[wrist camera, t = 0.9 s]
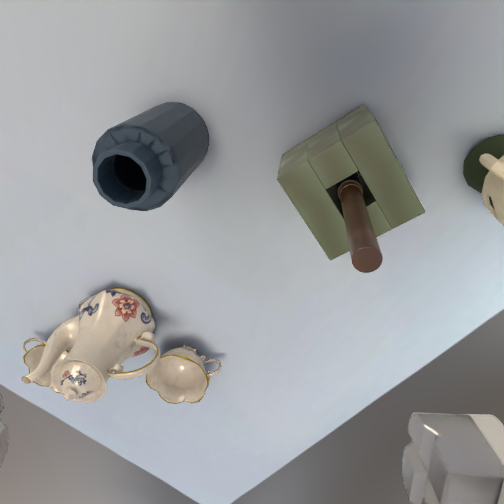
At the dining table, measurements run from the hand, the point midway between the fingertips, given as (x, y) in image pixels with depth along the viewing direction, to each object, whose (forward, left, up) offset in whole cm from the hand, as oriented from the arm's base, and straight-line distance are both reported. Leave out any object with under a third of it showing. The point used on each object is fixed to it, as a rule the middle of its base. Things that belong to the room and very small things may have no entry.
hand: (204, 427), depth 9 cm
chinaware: (+31, +22, -43) cm, 57 cm away
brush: (-4, +8, -43) cm, 44 cm away
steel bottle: (+13, -1, -43) cm, 45 cm away
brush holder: (-4, +8, -43) cm, 44 cm away
